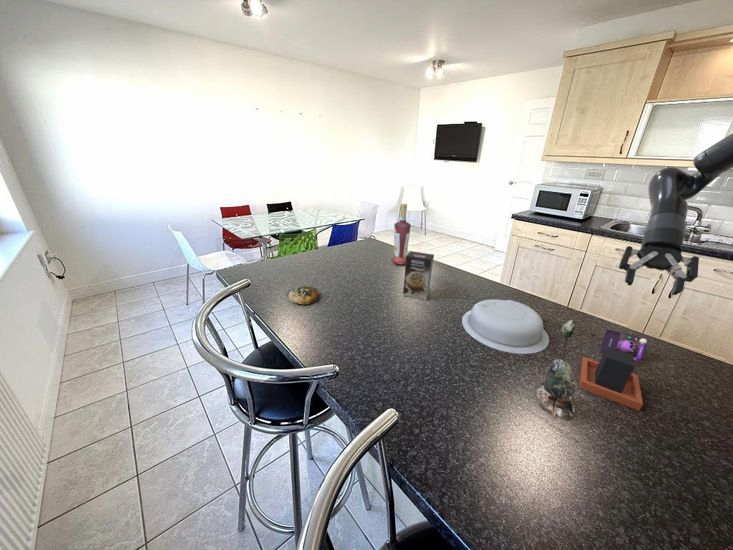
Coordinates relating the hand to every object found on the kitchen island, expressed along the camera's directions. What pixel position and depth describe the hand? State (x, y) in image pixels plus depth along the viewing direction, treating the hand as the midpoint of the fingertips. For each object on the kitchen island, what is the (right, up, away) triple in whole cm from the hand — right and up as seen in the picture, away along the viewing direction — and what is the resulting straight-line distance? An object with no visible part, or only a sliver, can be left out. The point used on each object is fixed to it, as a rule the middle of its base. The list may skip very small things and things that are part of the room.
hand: (651, 288), depth 73 cm
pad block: (-13, -22, -3) cm, 26 cm away
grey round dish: (-28, -13, +19) cm, 37 cm away
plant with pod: (-30, -25, -8) cm, 40 cm away
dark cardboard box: (-52, -4, +38) cm, 65 cm away
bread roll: (-94, -5, +34) cm, 100 cm away
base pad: (-13, -23, -3) cm, 27 cm away
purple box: (-1, -18, +9) cm, 20 cm away
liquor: (-55, +9, +67) cm, 87 cm away
